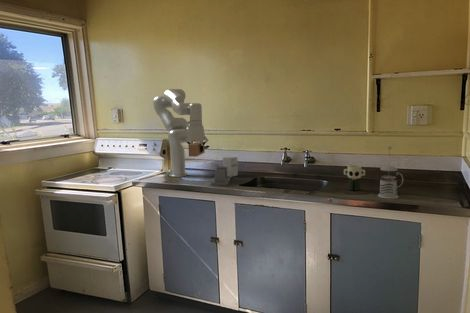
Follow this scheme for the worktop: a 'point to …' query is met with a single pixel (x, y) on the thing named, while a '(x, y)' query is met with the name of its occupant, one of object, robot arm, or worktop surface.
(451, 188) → the worktop surface
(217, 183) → the display stand
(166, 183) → the worktop surface
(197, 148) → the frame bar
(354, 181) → the big eared toy figure
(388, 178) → the french press
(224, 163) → the supplement box
